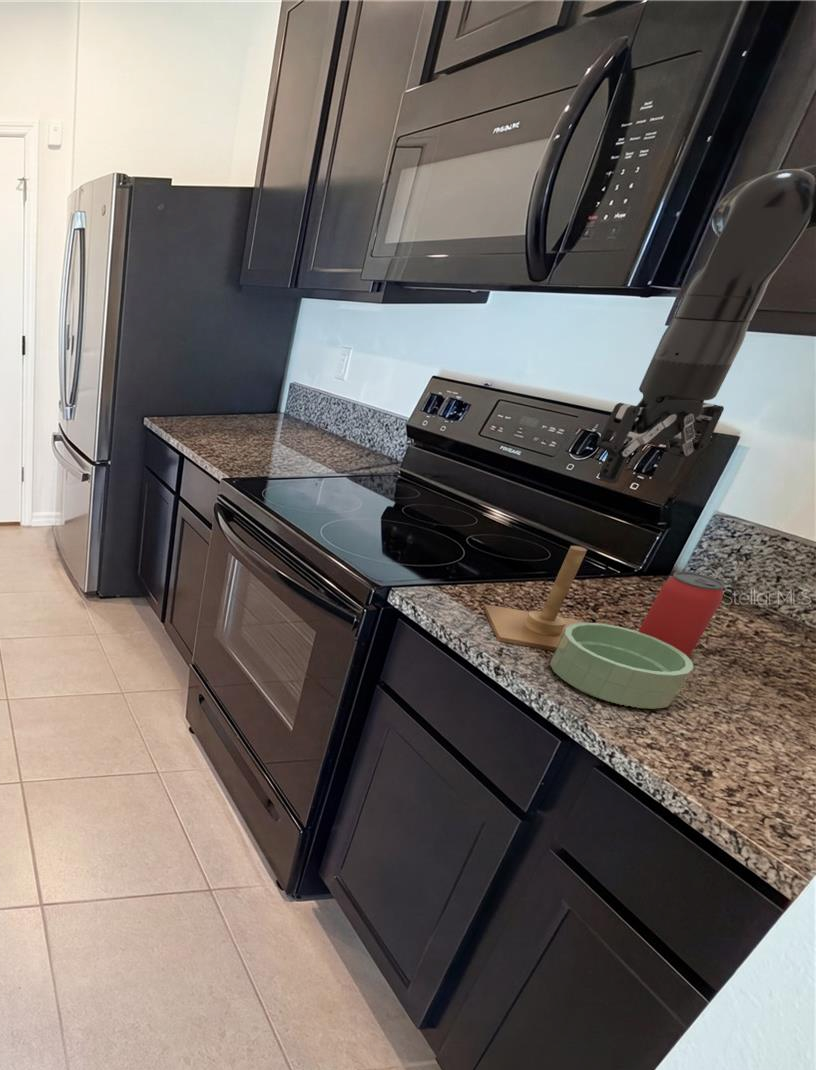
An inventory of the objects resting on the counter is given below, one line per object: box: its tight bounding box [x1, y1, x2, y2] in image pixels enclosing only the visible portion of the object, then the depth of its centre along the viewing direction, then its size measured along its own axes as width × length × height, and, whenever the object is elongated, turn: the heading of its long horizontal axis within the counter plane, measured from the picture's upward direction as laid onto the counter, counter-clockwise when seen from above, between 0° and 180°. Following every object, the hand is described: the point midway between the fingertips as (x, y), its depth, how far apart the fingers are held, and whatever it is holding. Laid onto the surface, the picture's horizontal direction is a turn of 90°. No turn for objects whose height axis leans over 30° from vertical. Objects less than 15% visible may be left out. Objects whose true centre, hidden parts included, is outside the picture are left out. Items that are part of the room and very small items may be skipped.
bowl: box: [549, 621, 694, 710], centre depth 91 cm, size 14×14×6 cm
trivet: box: [482, 603, 585, 652], centre depth 104 cm, size 14×12×1 cm
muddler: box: [524, 545, 588, 636], centre depth 101 cm, size 5×5×14 cm
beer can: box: [638, 571, 726, 657], centre depth 98 cm, size 7×7×12 cm
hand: (634, 480), depth 90 cm, fingers open, 8 cm apart
